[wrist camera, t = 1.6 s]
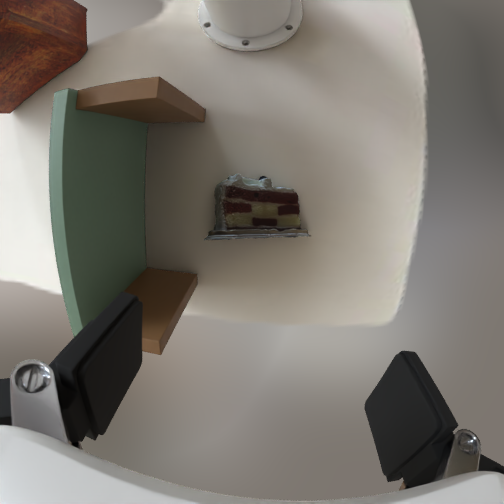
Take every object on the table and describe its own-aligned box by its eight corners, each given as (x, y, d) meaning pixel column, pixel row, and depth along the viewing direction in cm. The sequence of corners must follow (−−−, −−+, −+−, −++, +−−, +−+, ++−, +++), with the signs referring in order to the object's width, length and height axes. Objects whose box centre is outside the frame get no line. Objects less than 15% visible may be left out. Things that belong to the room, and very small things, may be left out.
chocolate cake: (315, 176, 31) (233, 156, 23) (318, 237, 31) (235, 239, 23) (258, 188, 38) (181, 178, 30) (260, 239, 38) (181, 241, 30)
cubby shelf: (137, 112, 29) (54, 92, 14) (205, 109, 28) (152, 71, 14) (137, 277, 36) (75, 342, 21) (197, 284, 36) (156, 364, 21)
